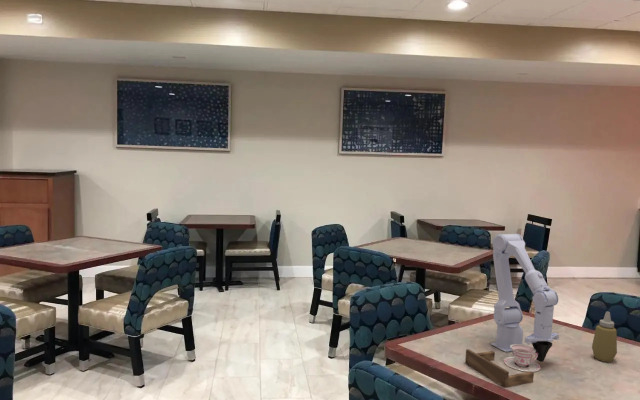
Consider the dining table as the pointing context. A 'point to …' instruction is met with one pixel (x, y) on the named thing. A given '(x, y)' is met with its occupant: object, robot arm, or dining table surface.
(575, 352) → the dining table surface
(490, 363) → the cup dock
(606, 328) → the squeeze bottle
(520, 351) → the teacup
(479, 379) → the dining table surface
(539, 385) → the dining table surface
